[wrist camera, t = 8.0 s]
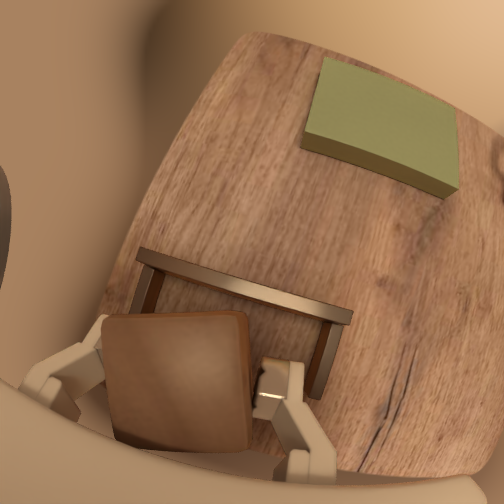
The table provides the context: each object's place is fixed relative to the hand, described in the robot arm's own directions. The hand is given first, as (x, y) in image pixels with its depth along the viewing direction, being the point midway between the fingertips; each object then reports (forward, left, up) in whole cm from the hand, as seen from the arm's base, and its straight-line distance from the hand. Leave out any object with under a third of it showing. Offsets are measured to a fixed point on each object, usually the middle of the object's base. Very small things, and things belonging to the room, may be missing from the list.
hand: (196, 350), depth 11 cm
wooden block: (0, -1, -5) cm, 5 cm away
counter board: (+9, +23, -14) cm, 29 cm away
